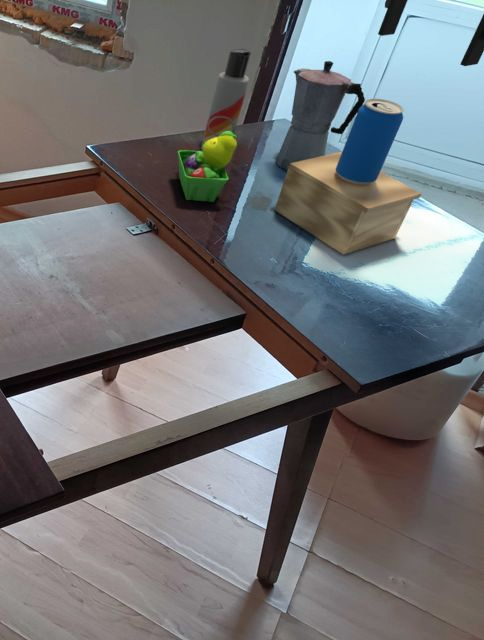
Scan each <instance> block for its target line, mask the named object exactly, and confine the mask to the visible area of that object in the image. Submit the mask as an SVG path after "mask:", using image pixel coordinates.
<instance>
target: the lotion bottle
mask: <svg viewBox="0 0 484 640" xmlns="http://www.w3.org/2000/svg"><path fill="white" fill-rule="evenodd" d="M251 55H252V52H251V51H250V50H248V49H245V48H237V49H231V50H230V51H229V54H228V58H227V61H226V66H225V70H224V71H222V72H219V75H218V77H217V81H216V85H215V89H214V93H213V96H212V97H213V98H212V101H211V105H210V110H209V112H208V113H209V114H208V117H207V122H206V126H205V129H204V134H203V138H202V143H201V148H200V151H202V152H203V148H202V147H203V145H204V143H205V142H206V141H208V140H210V139H212V138H215V137H219V135H220V134H221V133H223V132H225V131H231V132H232V133H233V134H234V135H235V133H236V129H237V127H238V122H239V119H240V115H241V111H242V108H243V103H244V100H245V96H246V93H247V89H248V86H249V82H250V78H249V76H248V75H246V74H247V70H248V67H249V62H250V58H251Z"/></svg>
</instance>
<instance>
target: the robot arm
mask: <svg viewBox="0 0 484 640" xmlns="http://www.w3.org/2000/svg"><path fill="white" fill-rule="evenodd" d="M407 2H408V0H385V1H384V8H385V9H386V11H385V14H384V17H383V19H382V22H381V25H380V27H379V29H378V32H377V35H378V36H381V37H383V36H391V35H395V34H396V31H397V28H398V26H399V23H400V20H401V18H402V16H403V13H404V10H405V8H406V5H407ZM483 54H484V13H483V14H482V16H481V18H480V21H479V23H478V25H477V26H476V29H475V30H474V33H473V35H472V38H471V40H470V42H469V44H468V47H467V49H466V51H465V52H464V55H463V57H462V59H461V61H460V64H459V65H461V66H463V67H468V66H470V67H471V66H475V65H478V64H479V62H480V61H481V58H482V56H483Z"/></svg>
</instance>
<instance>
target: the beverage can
mask: <svg viewBox="0 0 484 640" xmlns="http://www.w3.org/2000/svg"><path fill="white" fill-rule="evenodd" d="M404 110H405V109H404V107H403V106H402V105H400V104H399V103H397V102H395V101H391V100H388V99H383V98H367V99H365V101H364V103H363V105H362V106H361V107H360V108H359V110H358V113H357V114H356V115H355V117H354V119H353V123H352V126H351V129H350V131H349V133H348V136H347V138H346V141H345V144H344V147H343V149H342V151H341V152H342V154H341V156H340V159H339V161H338V164H337V167H336V172H337V173H338V174H339V177H340V178H341V179H342V180H344V181H346V182H348V183H351V184H355V185H367V184H369V183H372V182H374V181H376V180H377V178H378V175H379V173H380V172H382V169H383V166H384V164H385V161H386V159H387V157H388V155H389V153H390V150H391V148H392V146H393V144H394V141H395V139H396V136H397V134H398V132H399V129H400V127H401V125H402V123H403V120H404V114H403V112H404Z"/></svg>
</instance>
